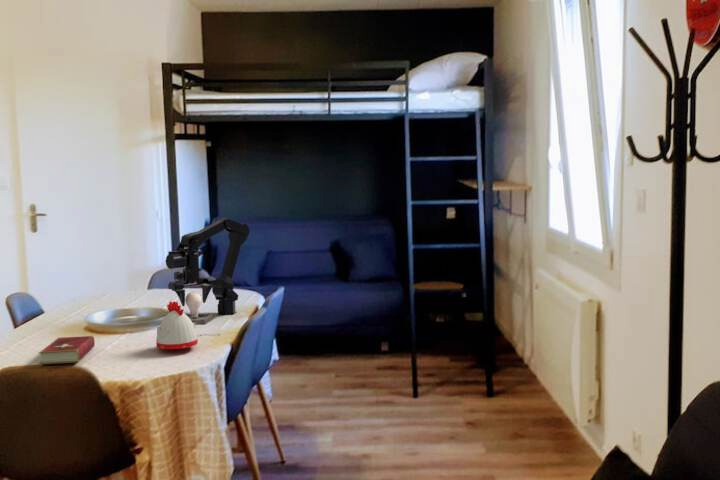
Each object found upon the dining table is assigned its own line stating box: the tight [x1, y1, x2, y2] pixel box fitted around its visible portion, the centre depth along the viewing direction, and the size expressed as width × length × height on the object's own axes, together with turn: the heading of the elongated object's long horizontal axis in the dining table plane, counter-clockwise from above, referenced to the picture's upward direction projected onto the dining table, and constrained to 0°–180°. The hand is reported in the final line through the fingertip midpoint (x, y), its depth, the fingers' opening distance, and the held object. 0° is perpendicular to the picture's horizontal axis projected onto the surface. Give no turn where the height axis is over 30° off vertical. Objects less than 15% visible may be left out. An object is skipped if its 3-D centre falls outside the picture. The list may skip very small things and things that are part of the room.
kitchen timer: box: [155, 300, 198, 350], centre depth 253 cm, size 14×14×15 cm
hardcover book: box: [38, 335, 96, 365], centre depth 244 cm, size 12×21×4 cm, turn 7°
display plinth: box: [185, 313, 218, 325], centre depth 293 cm, size 14×14×2 cm
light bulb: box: [185, 291, 203, 319], centre depth 292 cm, size 7×7×11 cm
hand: (193, 304), depth 292 cm, fingers open, 9 cm apart
